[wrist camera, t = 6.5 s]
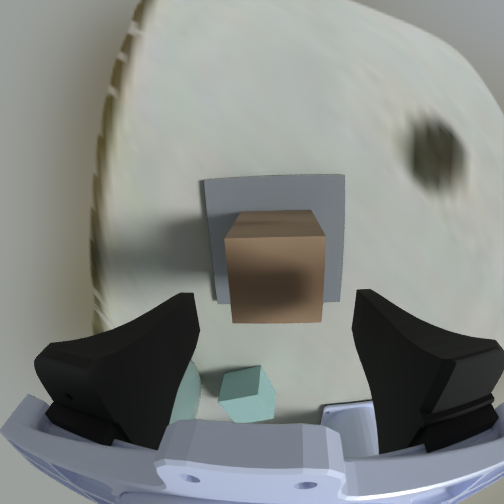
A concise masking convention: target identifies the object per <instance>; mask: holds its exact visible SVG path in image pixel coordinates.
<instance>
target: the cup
mask: <svg viewBox="0 0 504 504" xmlns="http://www.w3.org/2000/svg"><path fill="white" fill-rule="evenodd" d="M200 395H201V380H200V375H199V372H198V370H197V367H196V366H195V364H194V363H193V362H192V360H190V363H189V365H188V367H187V370H186V372H185V374H184V377H183V379H182V381H181V384H180V386H179V389H178V392H177V395H176V399H175V403H174V406H173V410H172V414H171V419H170V423H169V425H171V424H172V423H174V422H176V421H177V420H189V419H196V415H197V412H198V407H199V402H200Z"/></svg>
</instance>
